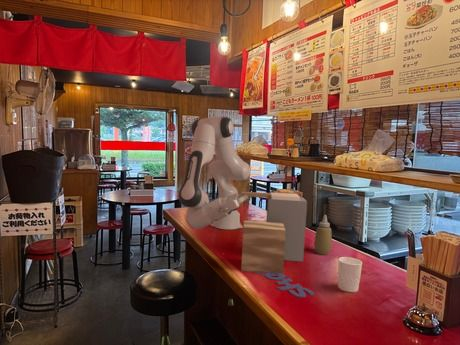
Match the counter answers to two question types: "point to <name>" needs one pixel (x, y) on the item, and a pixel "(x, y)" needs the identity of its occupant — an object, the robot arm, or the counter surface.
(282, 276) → the signage
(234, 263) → the counter surface
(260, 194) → the lid flap
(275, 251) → the box
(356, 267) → the white cup
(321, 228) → the squeeze bottle
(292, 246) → the carton
